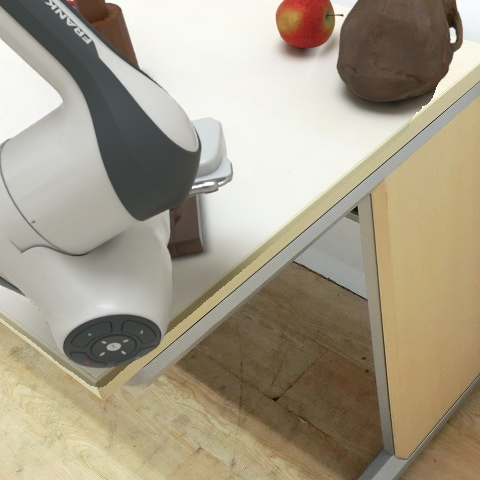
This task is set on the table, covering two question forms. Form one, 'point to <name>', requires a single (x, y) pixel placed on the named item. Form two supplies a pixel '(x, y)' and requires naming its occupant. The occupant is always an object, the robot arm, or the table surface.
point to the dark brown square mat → (185, 228)
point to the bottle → (108, 24)
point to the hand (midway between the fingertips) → (120, 121)
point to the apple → (306, 22)
